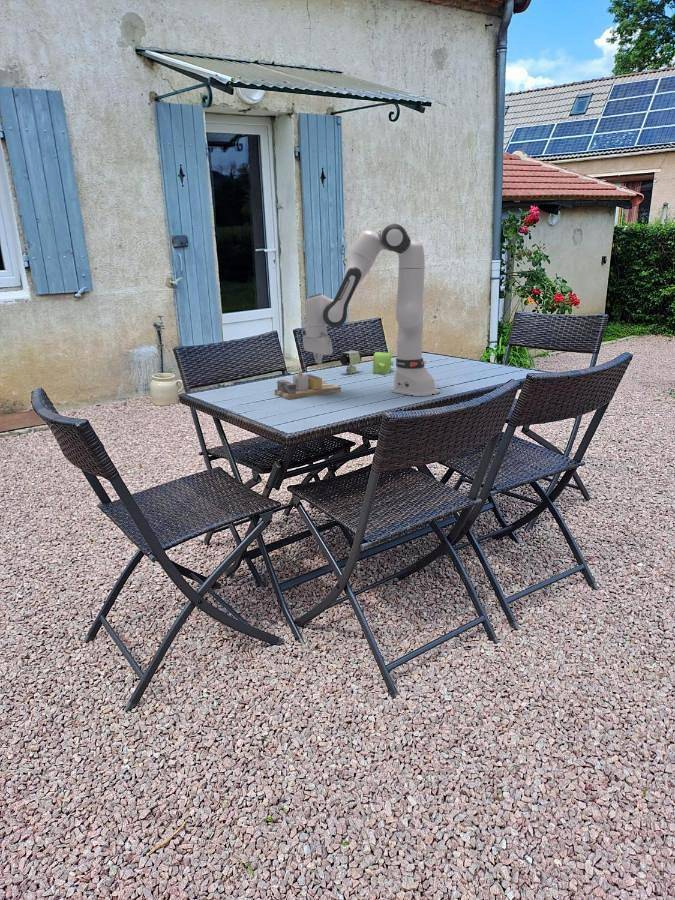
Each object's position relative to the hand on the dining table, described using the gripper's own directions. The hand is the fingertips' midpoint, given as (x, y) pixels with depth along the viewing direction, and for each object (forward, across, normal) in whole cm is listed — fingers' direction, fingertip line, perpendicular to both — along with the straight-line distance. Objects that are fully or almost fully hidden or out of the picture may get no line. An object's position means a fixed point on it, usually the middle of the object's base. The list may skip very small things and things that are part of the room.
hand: (318, 363), depth 298 cm
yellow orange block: (+10, 0, +3) cm, 11 cm away
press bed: (+13, 0, +6) cm, 14 cm away
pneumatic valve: (+13, +26, -34) cm, 45 cm away
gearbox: (+14, +19, -48) cm, 54 cm away
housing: (+10, 0, +10) cm, 14 cm away
